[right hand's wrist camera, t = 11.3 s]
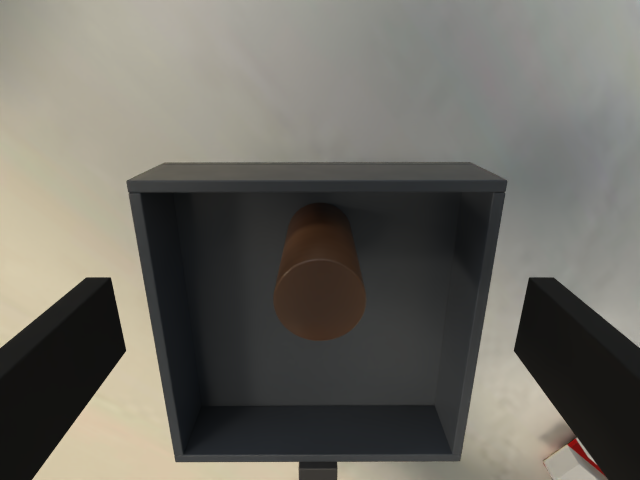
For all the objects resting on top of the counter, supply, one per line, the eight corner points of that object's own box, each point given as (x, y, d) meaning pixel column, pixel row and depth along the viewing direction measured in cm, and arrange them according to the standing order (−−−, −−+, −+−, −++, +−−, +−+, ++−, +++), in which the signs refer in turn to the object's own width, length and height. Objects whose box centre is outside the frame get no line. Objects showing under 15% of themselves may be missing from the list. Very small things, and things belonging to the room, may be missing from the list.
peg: (289, 262, 21) (276, 343, 14) (285, 203, 20) (269, 260, 13) (351, 261, 21) (366, 340, 14) (351, 201, 20) (367, 258, 13)
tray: (419, 552, 30) (435, 628, 26) (217, 552, 30) (201, 629, 26) (471, 162, 20) (512, 182, 15) (163, 162, 19) (120, 182, 15)
